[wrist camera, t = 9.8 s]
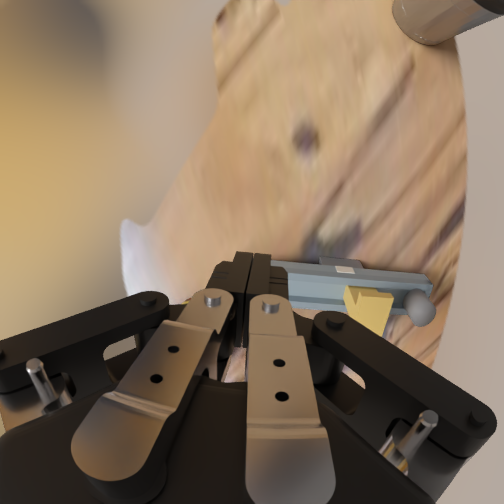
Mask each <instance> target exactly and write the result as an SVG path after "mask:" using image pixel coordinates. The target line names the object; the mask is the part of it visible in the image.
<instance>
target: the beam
mask: <svg viewBox="0 0 504 504" xmlns="http://www.w3.org/2000/svg"><path fill="white" fill-rule="evenodd" d="M253 259H254V258H253ZM271 266H280V267H283V268H284V269H285V270H286V271H287V272H288V290H289V302H290V303H291V305H292V308H301V309H313V310H327V311H341V312H348V311H347V308H346V305H345V302H344V299H343V296H344V292H345V287H346V285H350V286H362V287H375V288H376V289H377V291H378V292H381V293H391V294H392V296H393V297H394V300H393V303H392V307H391V310H390V313H389V314H397V315H409V317H410V319H411V320H412V322H413V324H414V325H416V326H418V327H422V326H426V325H428V324H429V323H430V322H431V321H432V320H433V319H434V317H435V315H436V308H435V306H434V305H433V303H432V302H431V301H430V299H429V297H430V294H431V291H432V288H433V284H432V283H431V282H430V280H429V279H428V278H427V277H426V276H425V275H424V274H417V273H405V272H394V271H383V270H372V269H364V268H363V266H362V265H361V263H360V261H359V260H352V259H341V258H331V257H321V256H320V259H319V265H318V264H307V263H297V262H286V261H276V260H271Z"/></svg>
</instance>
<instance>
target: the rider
mask: <svg viewBox="0 0 504 504" xmlns="http://www.w3.org/2000/svg"><path fill="white" fill-rule="evenodd" d="M343 299H344V302H345V305H346V308H347V311H348V314H349V316H350V317H351V318H353V319H354V320H356V321H357V322H359V323H360V324H362V325H364V326H365V327H367V328H368V329H370V330H371V331H373V332H374V333H376V334H377V335H379V336H382V334H383V331H384V328H385V325H386V322H387V319H388V316H389V313H390V310H391V307H392V303H393V300H394V297H393V296H392V294H391V293H381V292H378V291H377V289H376V288H375V287H362V286H350V285H346V287H345V292H344V296H343Z"/></svg>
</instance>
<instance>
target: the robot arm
mask: <svg viewBox="0 0 504 504" xmlns="http://www.w3.org/2000/svg"><path fill="white" fill-rule="evenodd" d="M392 12H393V16H394V18H395V20H396V23H397V24H398V26H399V27H400V28H401V29H402V31H403V32H404V33H405V34H406V35H408V36H409V37H410V38H412V39H413V40H415V41H417V42H419V43H421V44H425V45H435V44H439V43H441V42H443V41H445V40H447V39H449V38H452V37H454V36H456V35H458V34H460V33H463V32H464V31H467V30H469V29H471V28H474V27H476V26H479V25H481V24H483V23H486V22H488V21H491V20H493V19H496V18H498V17H501V16H503V15H504V0H394V2H393V6H392ZM133 335H134V338H135V343H136V348H134V349H132V350H129V351H127V352H125V353H122V354H120V355H117V356H115V357H113V358H110V359H108V360H105V361H104V358H103V353H104V350H105V349H106V347H108V346H109V345H111V344H113V343H116V342H118V341H121V340H123V339H126V338H128V337H130V336H133ZM242 337H243V348H247V349H246V361H245V381H244V382H232V383H225V382H224V380H225V378H226V375H227V372H228V369H229V366H230V363H231V354H232V352H233V349H234V347H241V343H242ZM344 364H345V365H346V366H348V367H349V368H350V369H351V370H353V371H354V372H355V373H357V374H358V375H359V376H360V377H361V378H362V379H363V380H364V383H365V389H364V388H362V387H361V386H360V385H358V384H357V383H356V382H355V381H353V380H352V379H351V378H349V377H348V376H347V375H346V374H344V373H343V372H342V370H343V367H344ZM0 413H1V417H2V421H3V424H4V428H5V433H4V434H3V435H2V436H1V437H0V504H435V503H436V501H437V500H438V499H439V498H440V496H441V495H442V493H443V492H444V491H445V490H446V488H447V487H448V486H449V484H450V483H451V482H452V480H453V479H454V477H455V476H456V474H457V473H458V471H459V470H460V468H462V467H463V466H464V465H465V464H466V463H467V462H468V461H469V460H470V459H471V458H472V457H473V456H474V454H475V453H476V452H477V451H478V450H479V449H480V448H481V447H482V446H483V445H484V444H485V443H486V442H487V440H488V439H489V438H490V437H491V436H492V435H493V433H494V432H495V430H496V427H497V420H496V417H495V414H494V413H493V411H492V410H491V409H490V408H489V407H488V406H487V405H485V404H484V403H482V402H481V401H479V400H478V399H476V398H475V397H473V396H472V395H470V394H469V393H467V392H465V391H464V390H462V389H461V388H459V387H458V386H456V385H455V384H453V383H451V382H450V381H448V380H447V379H445V378H444V377H442V376H441V375H439V374H438V373H436V372H435V371H433V370H431V369H430V368H428V367H427V366H425V365H424V364H422V363H421V362H419V361H418V360H416V359H414V358H413V357H411V356H410V355H408V354H407V353H405V352H404V351H402V350H401V349H399V348H397V347H396V346H394V345H393V344H391V343H390V342H388V341H387V340H385V339H384V338H382V337H381V336H379V335H377V334H376V333H374V332H373V331H371V330H370V329H368V328H367V327H365V326H364V325H362V324H360V323H359V322H357V321H356V320H354V319H353V318H351V317H350V316H348V315H346V314H344V313H341V312H337V311H323V312H320V313H318V314H316V316H315V317H314V320H312V319H309V318H305V317H302V316H300V315H298V314H296V313H295V312H294V311H293V310H292V305H291V303H290V302H289V290H288V272H287V271H286V270H285V269H284V268H283V267H280V266H271V255H270V254H260V253H255V254H254V259H253V253H249V252H238V251H237V252H236V254H235V257H234V260H233V262H228V261H222V262H221V263H219V264H218V265H216V267H215V269H214V271H213V273H212V275H211V277H210V280H209V282H208V284H207V286H206V288H205V289H203V290H200V291H198V292H196V293H195V294H194V295H193V296H192V298H191V299H190V301H189V302H188V303H187V304H178V305H169V299H168V297H167V296H166V295H165V294H163V293H160V292H156V291H145V292H140V293H137V294H134V295H131V296H129V297H126V298H123V299H120V300H117V301H114V302H111V303H108V304H106V305H103V306H100V307H97V308H94V309H91V310H88V311H85V312H82V313H79V314H76V315H74V316H71V317H68V318H65V319H62V320H59V321H56V322H53V323H51V324H48V325H45V326H42V327H39V328H36V329H33V330H30V331H27V332H24V333H21V334H18V335H15V336H13V337H10V338H7V339H4V340H1V341H0Z"/></svg>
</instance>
